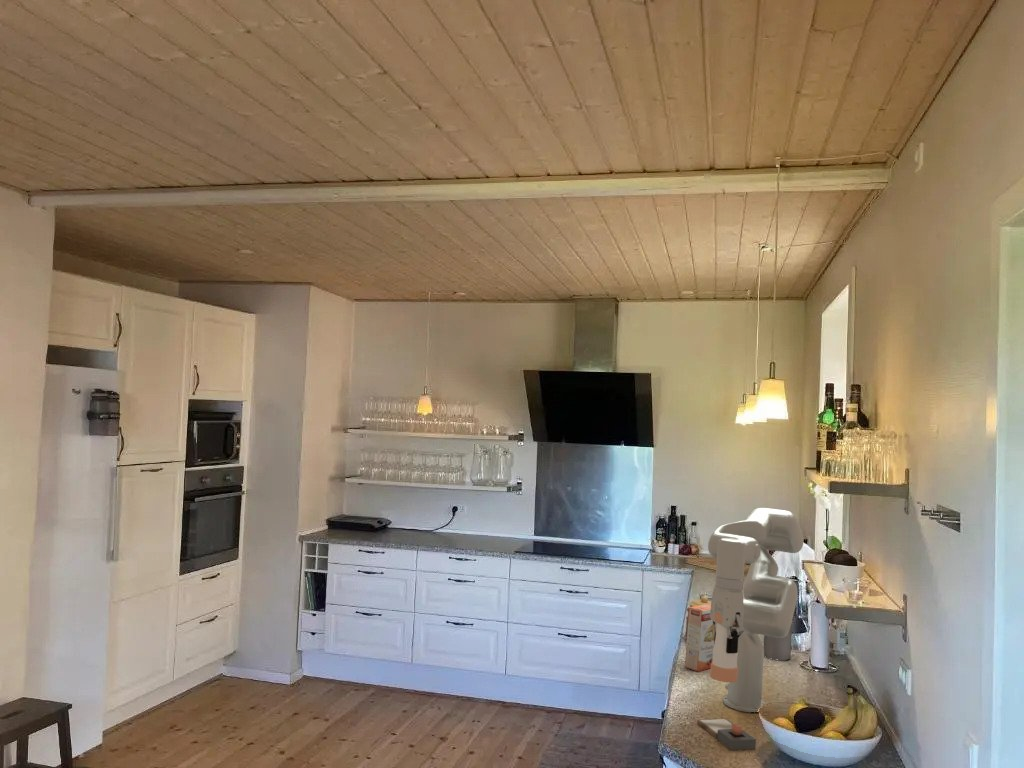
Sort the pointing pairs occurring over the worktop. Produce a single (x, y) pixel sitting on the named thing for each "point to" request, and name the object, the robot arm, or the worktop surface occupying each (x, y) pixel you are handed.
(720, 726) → the drawing board
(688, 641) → the cracker box
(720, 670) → the salt shaker
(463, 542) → the worktop surface
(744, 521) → the robot arm
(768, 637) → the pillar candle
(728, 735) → the button housing
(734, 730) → the button
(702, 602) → the canister
